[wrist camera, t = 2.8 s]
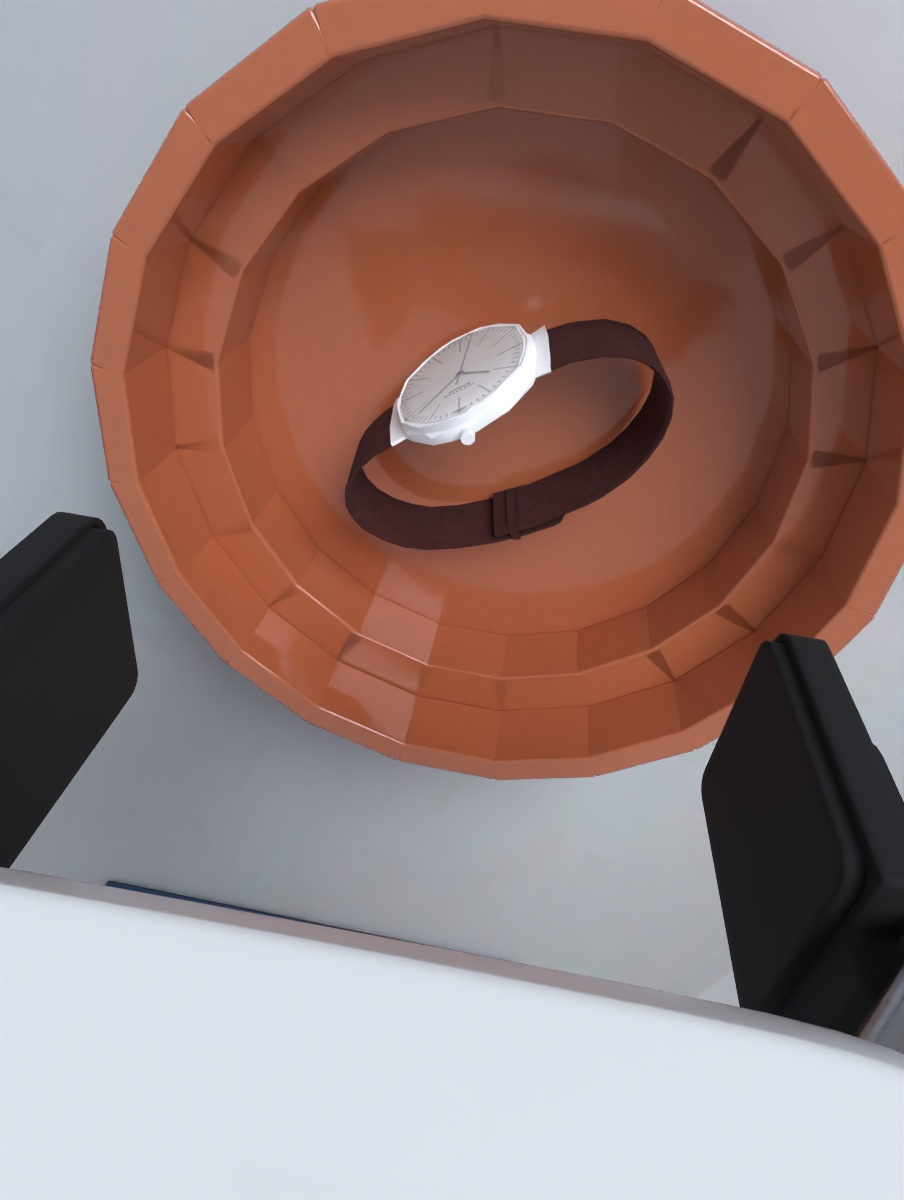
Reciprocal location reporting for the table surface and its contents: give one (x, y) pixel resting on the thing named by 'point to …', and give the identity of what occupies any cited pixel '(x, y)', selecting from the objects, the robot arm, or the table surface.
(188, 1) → the table surface
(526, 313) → the bowl
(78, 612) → the robot arm
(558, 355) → the watch
